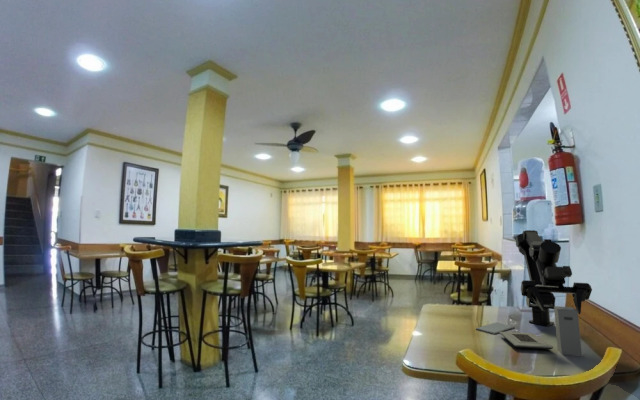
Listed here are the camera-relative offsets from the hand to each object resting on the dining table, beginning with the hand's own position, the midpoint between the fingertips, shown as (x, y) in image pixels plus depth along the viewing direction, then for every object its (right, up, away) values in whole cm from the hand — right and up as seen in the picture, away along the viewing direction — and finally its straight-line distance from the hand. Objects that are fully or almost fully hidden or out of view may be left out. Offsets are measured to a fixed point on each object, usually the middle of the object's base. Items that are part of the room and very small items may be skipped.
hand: (561, 312), depth 98 cm
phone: (-10, -14, +19) cm, 25 cm away
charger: (-2, -10, -5) cm, 12 cm away
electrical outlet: (-10, -12, +3) cm, 16 cm away
